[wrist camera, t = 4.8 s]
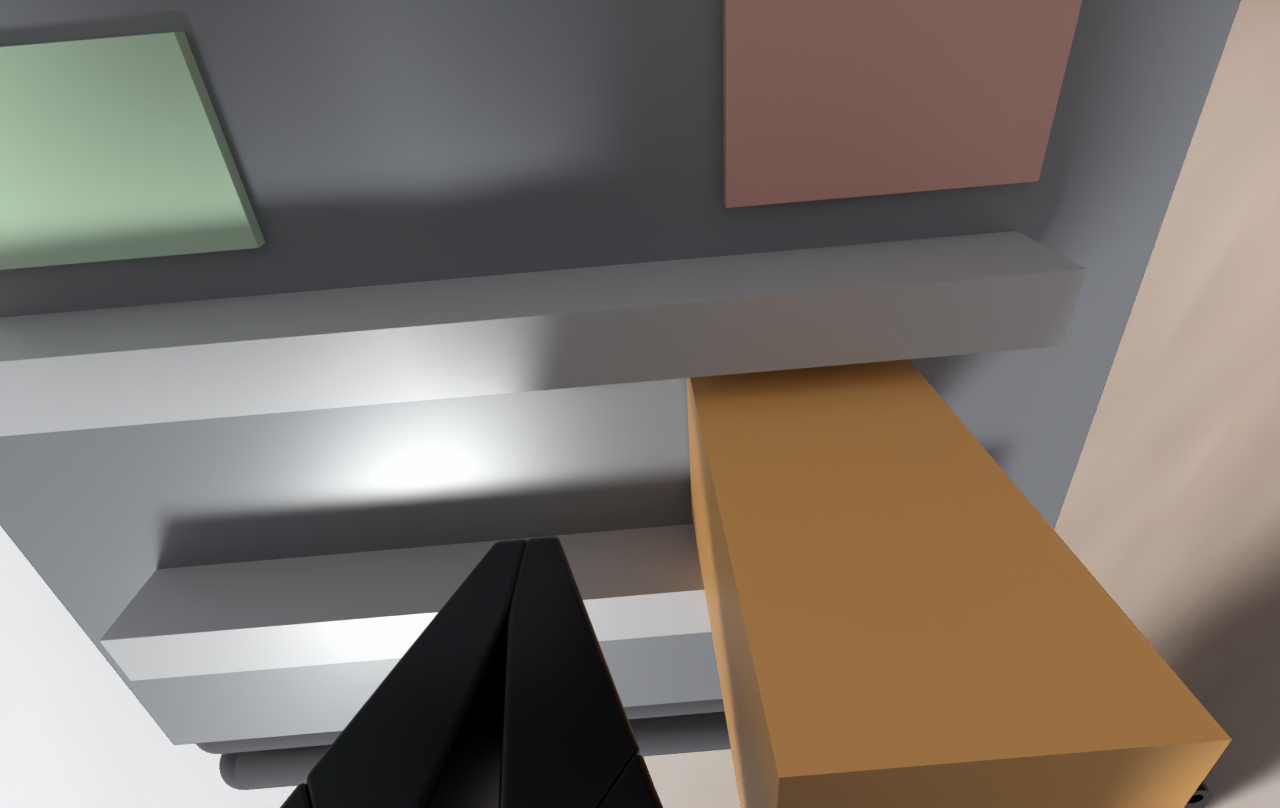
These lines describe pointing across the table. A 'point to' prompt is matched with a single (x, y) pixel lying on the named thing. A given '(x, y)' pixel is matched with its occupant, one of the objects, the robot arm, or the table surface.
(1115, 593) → the table surface
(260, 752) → the dark grey piece
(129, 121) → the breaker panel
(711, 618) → the block
